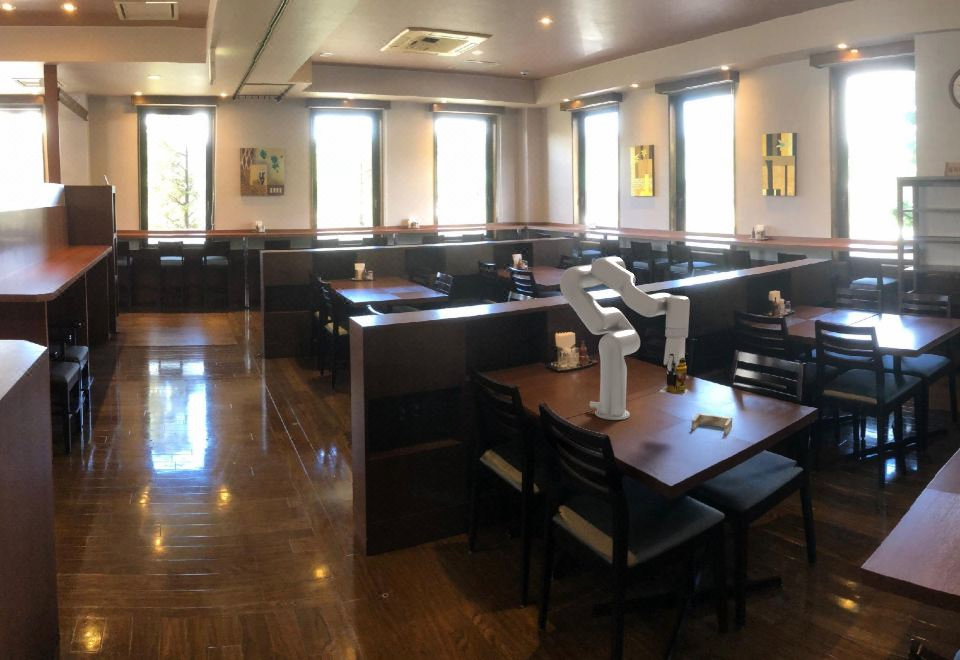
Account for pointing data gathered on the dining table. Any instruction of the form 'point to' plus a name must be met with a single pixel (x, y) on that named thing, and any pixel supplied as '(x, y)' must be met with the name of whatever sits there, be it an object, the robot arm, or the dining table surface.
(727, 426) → the u rest
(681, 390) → the condiment
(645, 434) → the dining table surface
